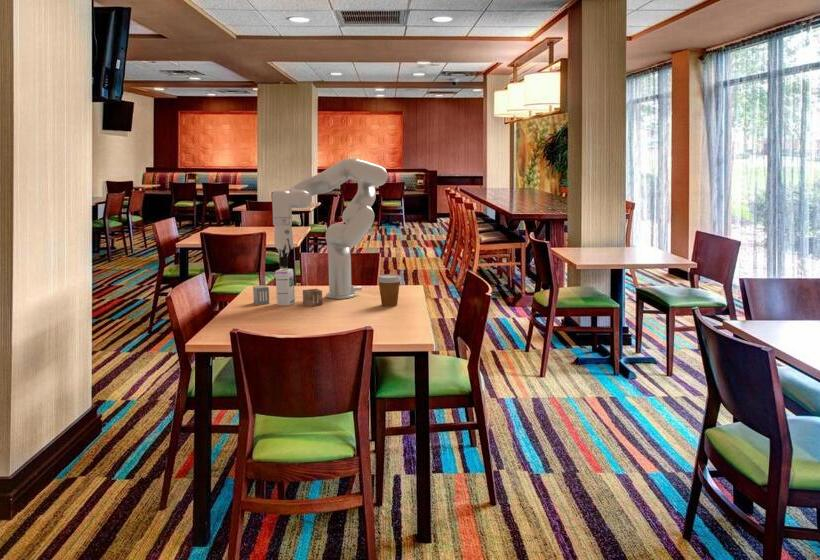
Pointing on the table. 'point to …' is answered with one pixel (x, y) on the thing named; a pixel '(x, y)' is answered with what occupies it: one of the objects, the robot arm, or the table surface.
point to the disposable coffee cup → (389, 289)
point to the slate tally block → (261, 295)
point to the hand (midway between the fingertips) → (283, 266)
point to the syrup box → (285, 287)
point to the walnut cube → (312, 297)
